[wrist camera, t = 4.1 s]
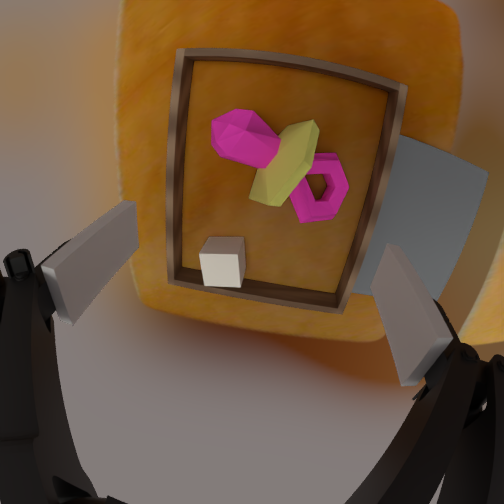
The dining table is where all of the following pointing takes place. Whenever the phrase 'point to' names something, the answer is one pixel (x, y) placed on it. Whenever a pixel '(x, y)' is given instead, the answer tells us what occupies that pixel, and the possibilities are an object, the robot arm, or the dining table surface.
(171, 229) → the brown wooden frame
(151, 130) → the dining table surface
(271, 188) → the toy
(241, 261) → the cream block
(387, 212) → the mat
